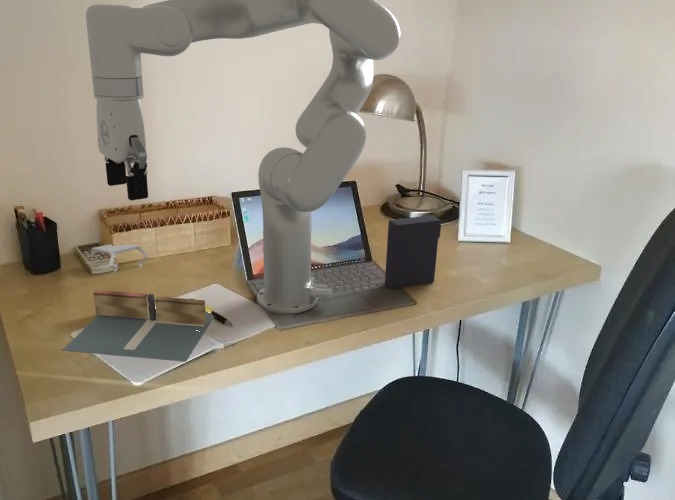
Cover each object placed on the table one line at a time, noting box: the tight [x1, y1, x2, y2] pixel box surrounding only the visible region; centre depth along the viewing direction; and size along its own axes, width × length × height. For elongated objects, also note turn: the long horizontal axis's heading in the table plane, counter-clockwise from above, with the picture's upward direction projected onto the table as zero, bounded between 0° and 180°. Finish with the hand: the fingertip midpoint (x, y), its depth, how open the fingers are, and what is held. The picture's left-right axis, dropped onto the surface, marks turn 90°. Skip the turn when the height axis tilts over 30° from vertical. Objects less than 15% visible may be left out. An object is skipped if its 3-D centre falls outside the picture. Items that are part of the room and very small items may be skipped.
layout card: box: [62, 305, 218, 362], centre depth 114 cm, size 22×18×1 cm
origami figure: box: [90, 243, 149, 272], centre depth 140 cm, size 12×8×5 cm
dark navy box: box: [384, 214, 442, 290], centre depth 134 cm, size 11×4×15 cm, turn 113°
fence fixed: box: [147, 293, 207, 325], centre depth 116 cm, size 11×1×5 cm, turn 83°
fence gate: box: [93, 289, 149, 319], centre depth 117 cm, size 10×1×5 cm, turn 83°
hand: (127, 191), depth 105 cm, fingers open, 9 cm apart
